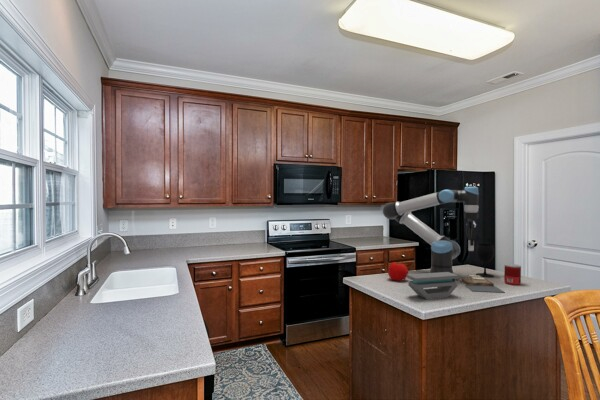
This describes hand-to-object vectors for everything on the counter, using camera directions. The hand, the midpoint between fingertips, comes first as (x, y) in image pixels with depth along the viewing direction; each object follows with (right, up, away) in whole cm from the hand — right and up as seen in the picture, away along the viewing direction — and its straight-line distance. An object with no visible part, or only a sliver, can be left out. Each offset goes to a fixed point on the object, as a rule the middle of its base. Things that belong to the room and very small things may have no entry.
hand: (471, 250), depth 196 cm
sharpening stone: (-37, -18, -33) cm, 53 cm away
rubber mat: (-3, -18, -20) cm, 27 cm away
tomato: (-45, -18, -1) cm, 48 cm away
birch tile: (-2, -16, -9) cm, 18 cm away
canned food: (+20, -18, -8) cm, 28 cm away
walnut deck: (-2, -18, -10) cm, 20 cm away
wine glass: (+15, -18, +11) cm, 25 cm away
